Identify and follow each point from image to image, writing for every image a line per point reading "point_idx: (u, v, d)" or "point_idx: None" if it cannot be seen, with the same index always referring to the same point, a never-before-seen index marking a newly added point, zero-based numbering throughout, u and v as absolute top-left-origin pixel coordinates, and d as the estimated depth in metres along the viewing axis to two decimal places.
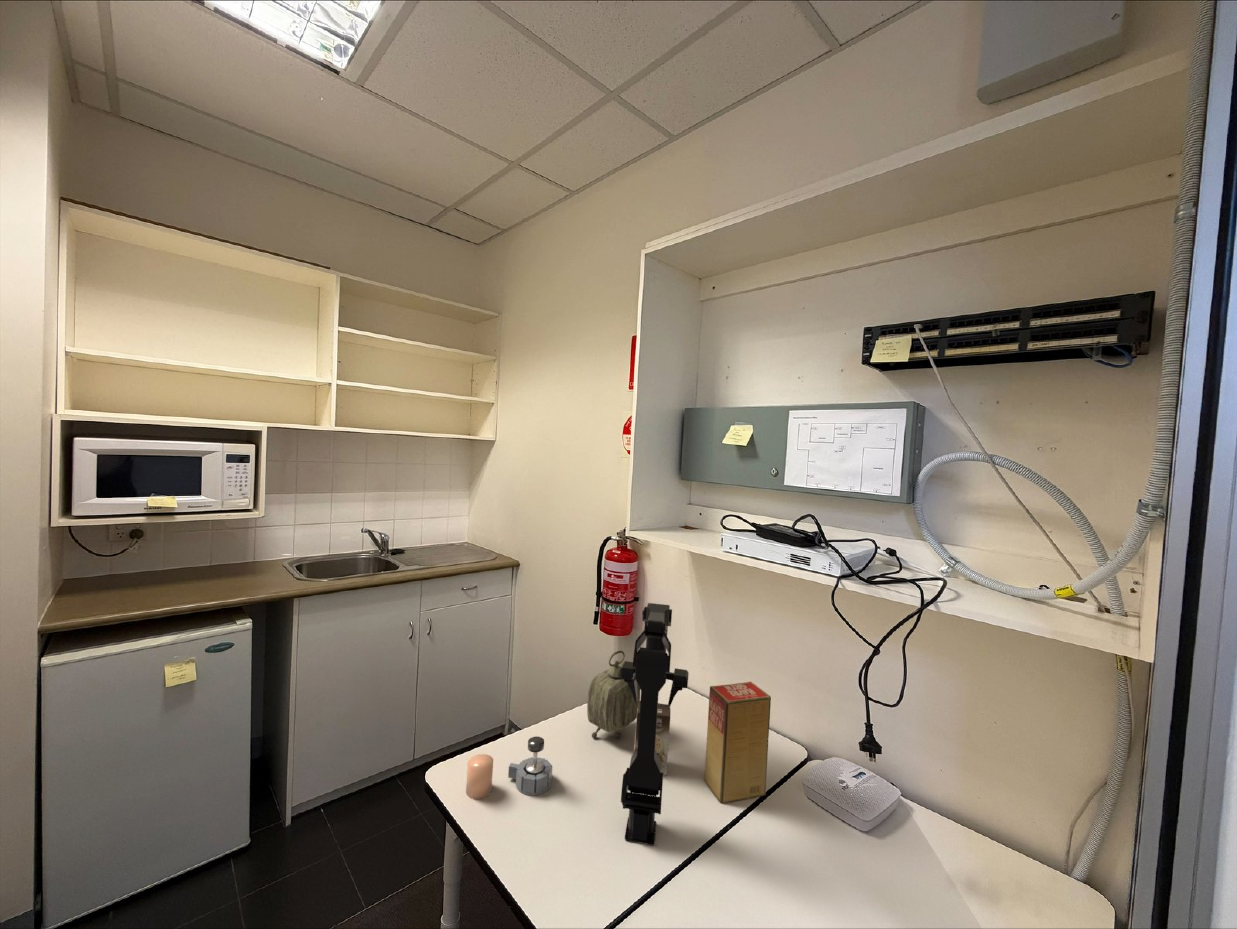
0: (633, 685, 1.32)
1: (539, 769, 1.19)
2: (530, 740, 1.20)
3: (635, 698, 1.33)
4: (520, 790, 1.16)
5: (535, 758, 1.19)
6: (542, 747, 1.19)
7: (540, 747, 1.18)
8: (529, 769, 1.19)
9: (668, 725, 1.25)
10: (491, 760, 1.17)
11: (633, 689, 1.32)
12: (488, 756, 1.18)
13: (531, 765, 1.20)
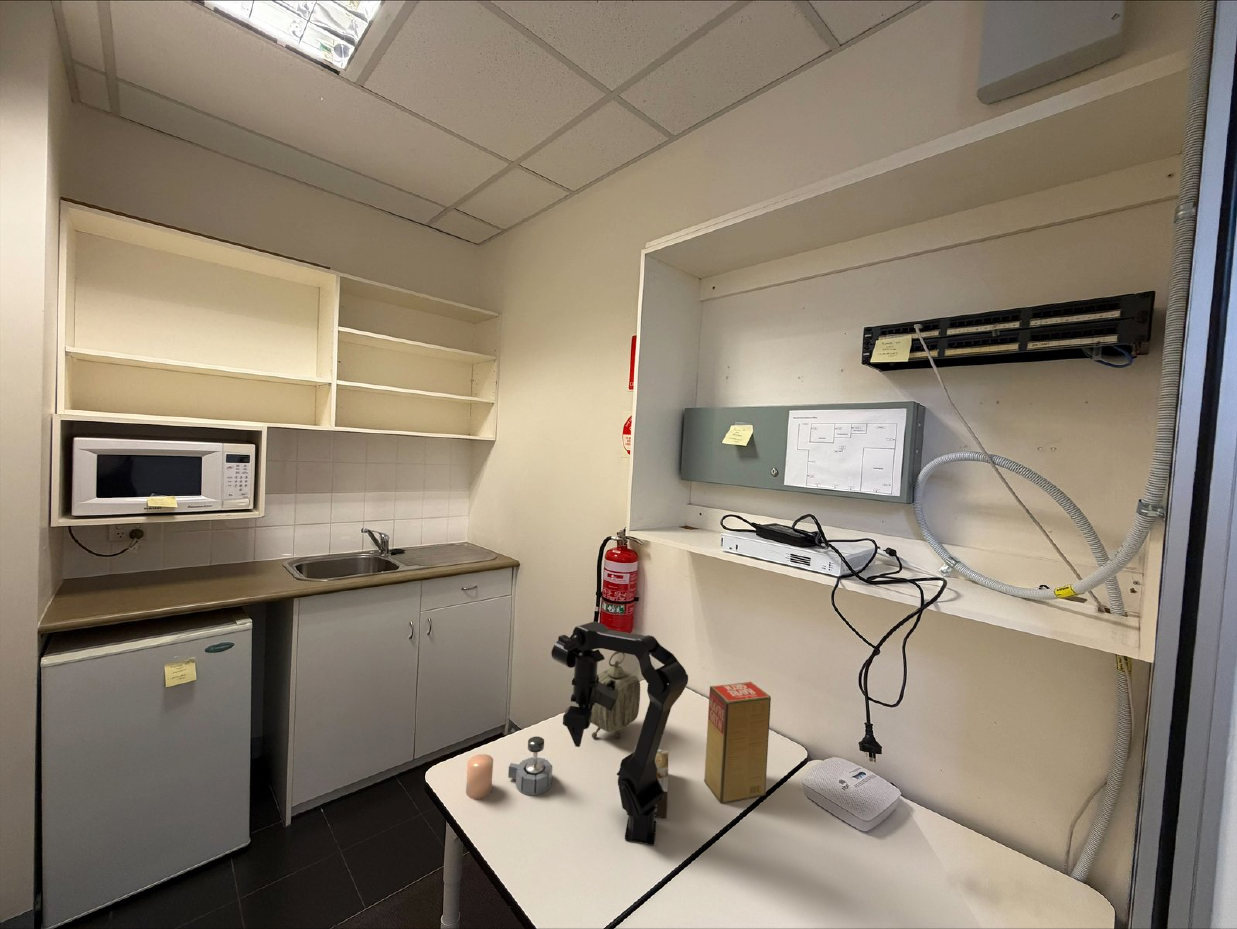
0: None
1: (539, 769, 1.19)
2: (530, 740, 1.20)
3: None
4: (520, 790, 1.16)
5: (535, 758, 1.19)
6: (542, 747, 1.19)
7: (540, 747, 1.18)
8: (529, 769, 1.19)
9: None
10: (491, 760, 1.17)
11: None
12: (488, 756, 1.18)
13: (531, 765, 1.20)
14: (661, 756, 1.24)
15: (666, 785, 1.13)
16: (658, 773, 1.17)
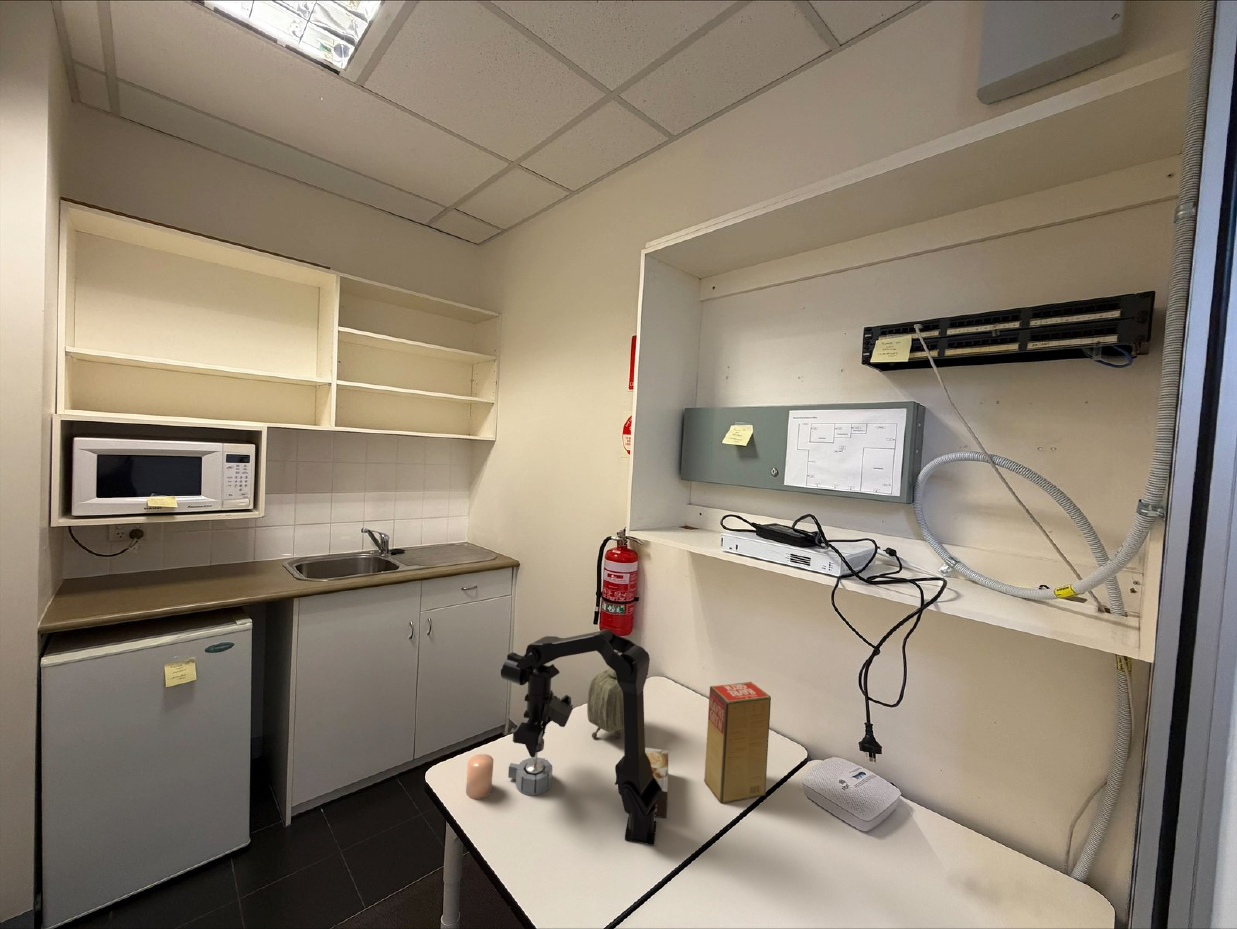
0: None
1: (539, 769, 1.19)
2: None
3: None
4: (520, 790, 1.16)
5: (535, 758, 1.19)
6: (542, 747, 1.19)
7: (540, 747, 1.18)
8: (529, 769, 1.19)
9: None
10: (491, 760, 1.17)
11: None
12: (488, 756, 1.18)
13: (531, 765, 1.20)
14: (661, 756, 1.24)
15: (666, 785, 1.13)
16: (658, 773, 1.17)
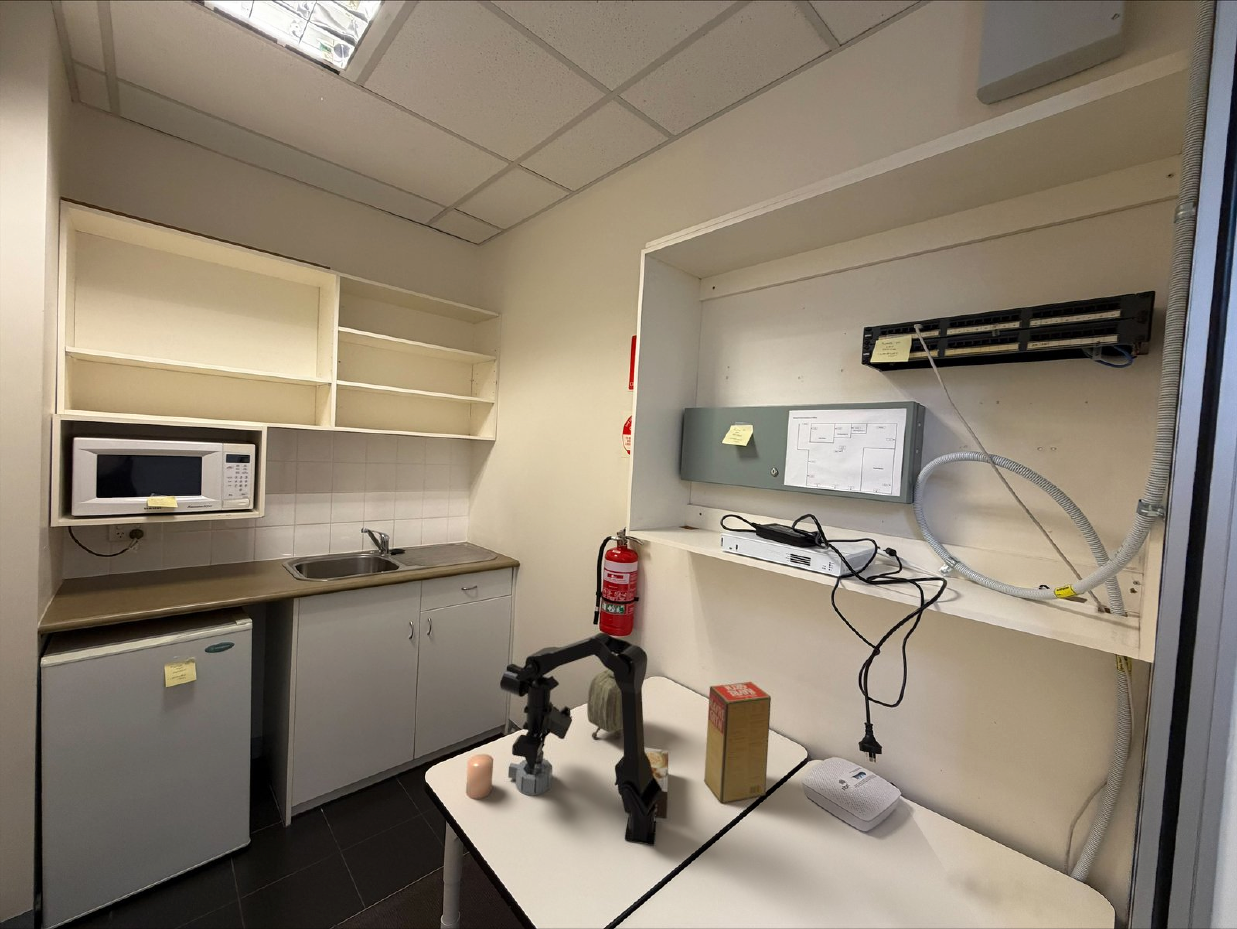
0: None
1: None
2: None
3: None
4: (520, 790, 1.16)
5: (535, 770, 1.19)
6: (541, 759, 1.19)
7: (539, 759, 1.18)
8: None
9: None
10: (491, 760, 1.17)
11: None
12: (488, 756, 1.18)
13: None
14: (661, 756, 1.24)
15: (666, 785, 1.13)
16: (658, 773, 1.17)
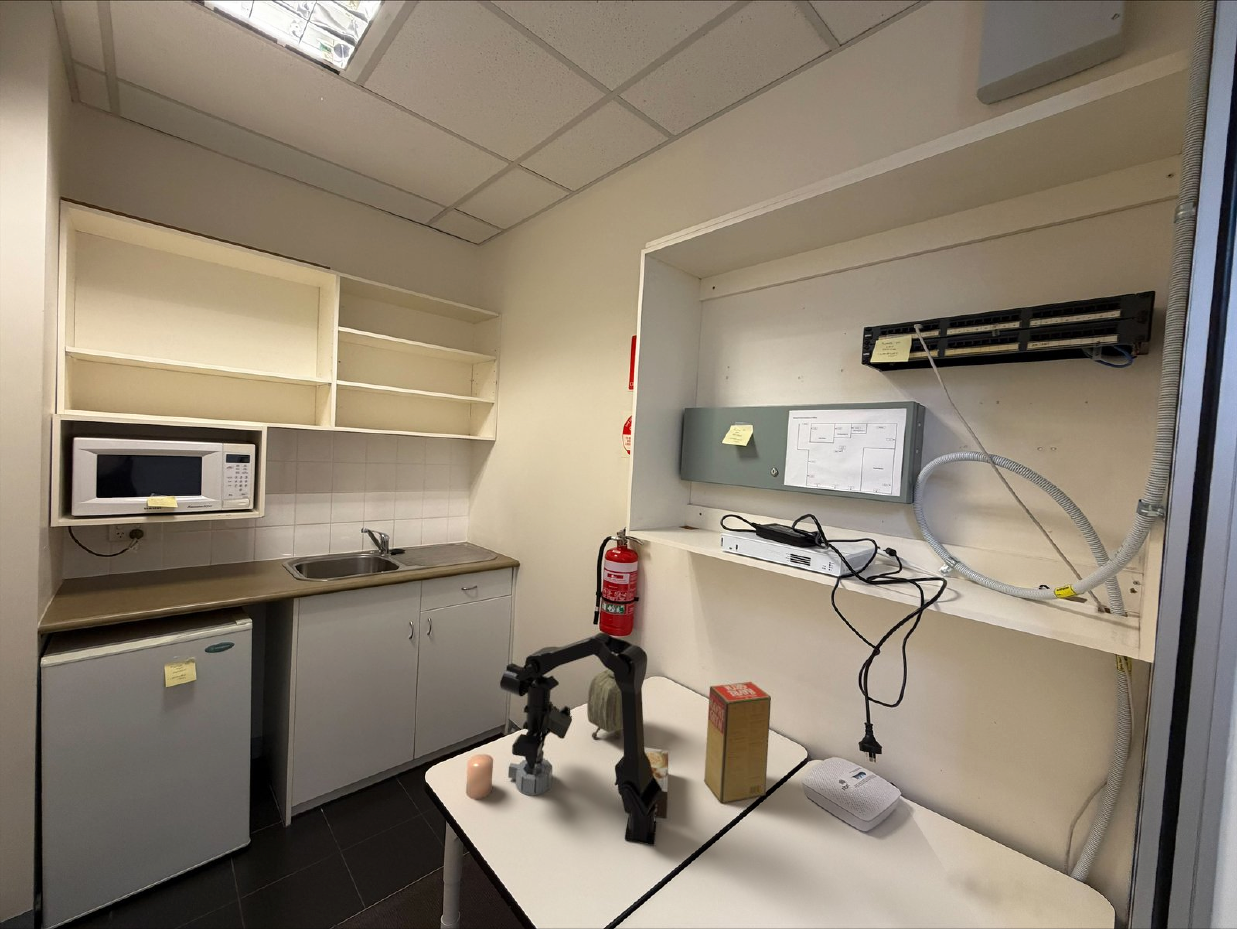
0: None
1: None
2: None
3: None
4: (520, 790, 1.16)
5: (535, 769, 1.19)
6: (541, 758, 1.19)
7: (539, 759, 1.18)
8: None
9: None
10: (491, 760, 1.17)
11: None
12: (488, 756, 1.18)
13: None
14: (661, 756, 1.24)
15: (666, 785, 1.13)
16: (658, 773, 1.17)
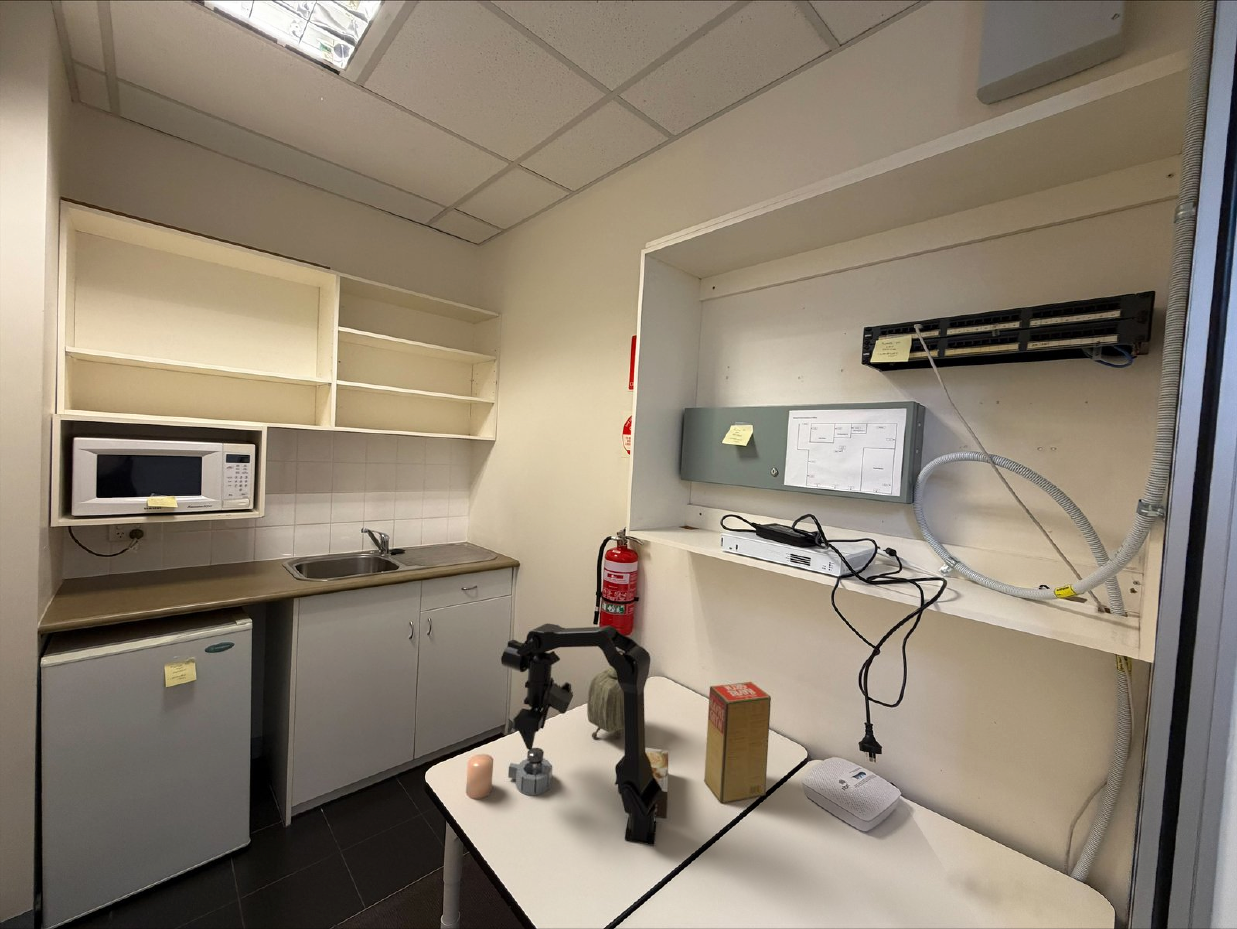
0: None
1: None
2: (529, 751, 1.20)
3: None
4: (520, 790, 1.16)
5: (535, 769, 1.19)
6: (541, 758, 1.19)
7: (539, 759, 1.18)
8: None
9: None
10: (491, 760, 1.17)
11: None
12: (488, 756, 1.18)
13: None
14: (661, 756, 1.24)
15: (666, 785, 1.13)
16: (658, 773, 1.17)
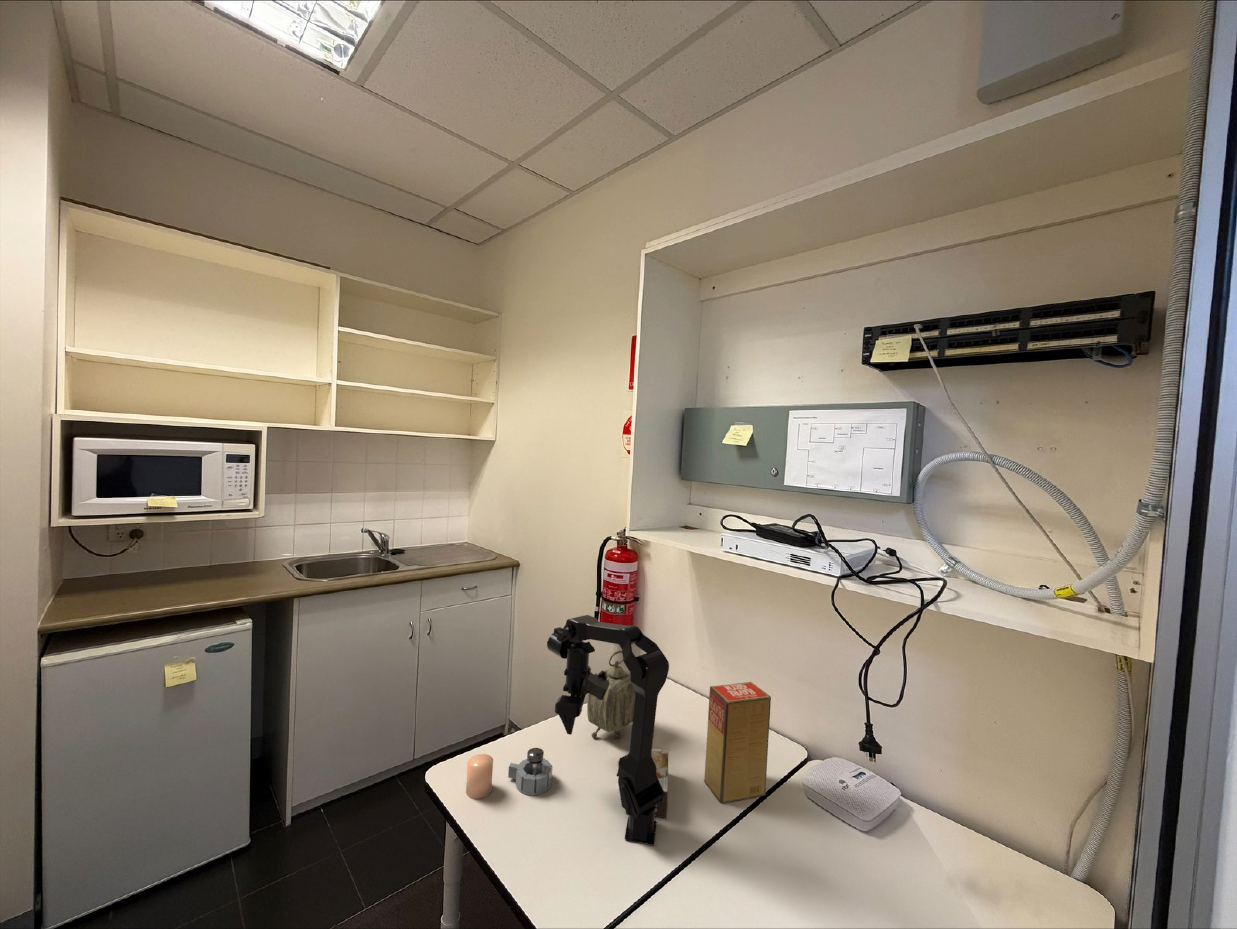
0: None
1: None
2: (529, 751, 1.20)
3: None
4: (520, 790, 1.16)
5: (535, 769, 1.19)
6: (541, 758, 1.19)
7: (539, 759, 1.18)
8: None
9: None
10: (491, 760, 1.17)
11: None
12: (488, 756, 1.18)
13: None
14: (661, 756, 1.24)
15: (666, 785, 1.13)
16: (658, 773, 1.17)
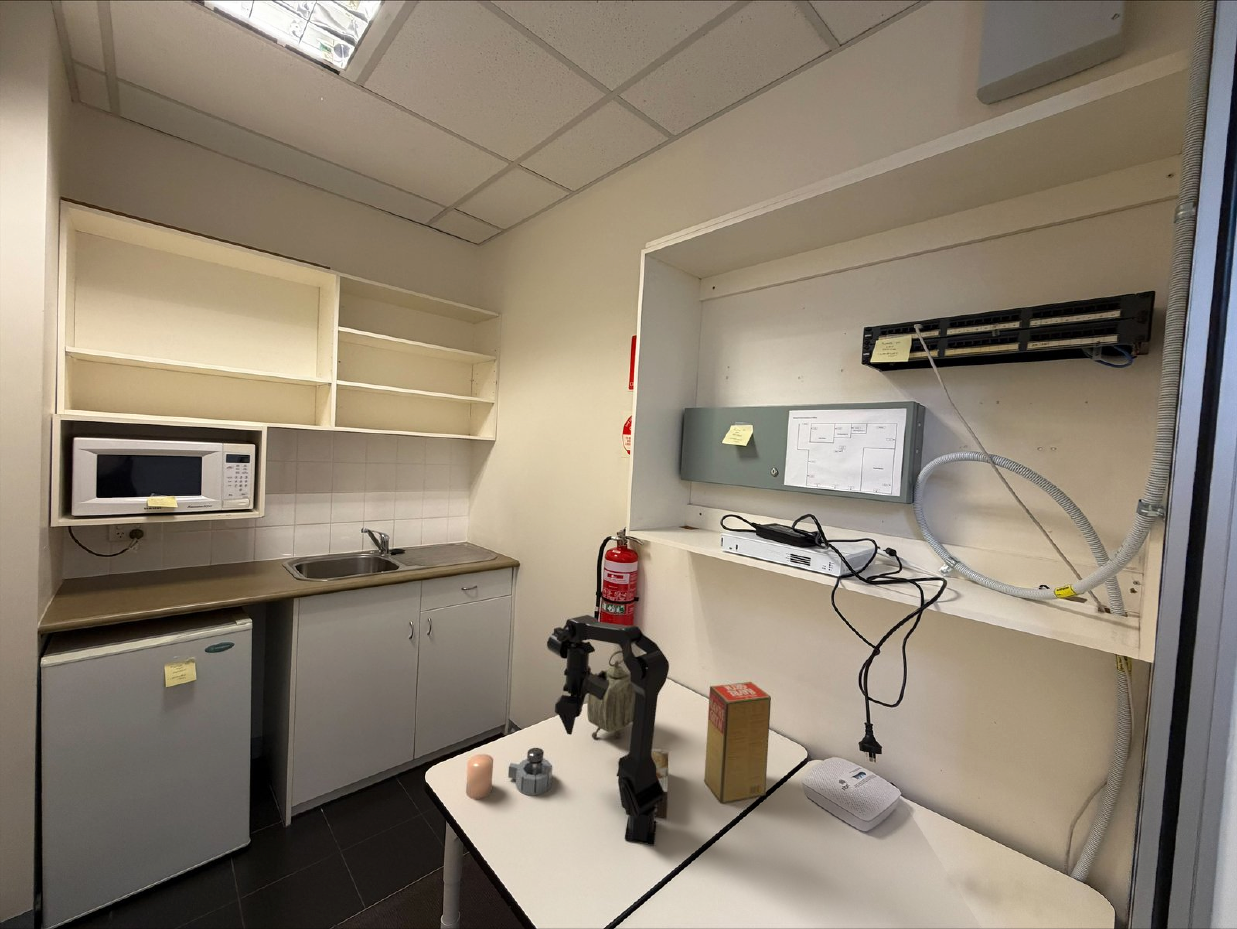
0: None
1: None
2: (529, 751, 1.20)
3: None
4: (520, 790, 1.16)
5: (535, 769, 1.19)
6: (541, 758, 1.19)
7: (539, 759, 1.18)
8: None
9: None
10: (491, 760, 1.17)
11: None
12: (488, 756, 1.18)
13: None
14: (661, 756, 1.24)
15: (666, 785, 1.13)
16: (658, 773, 1.17)
